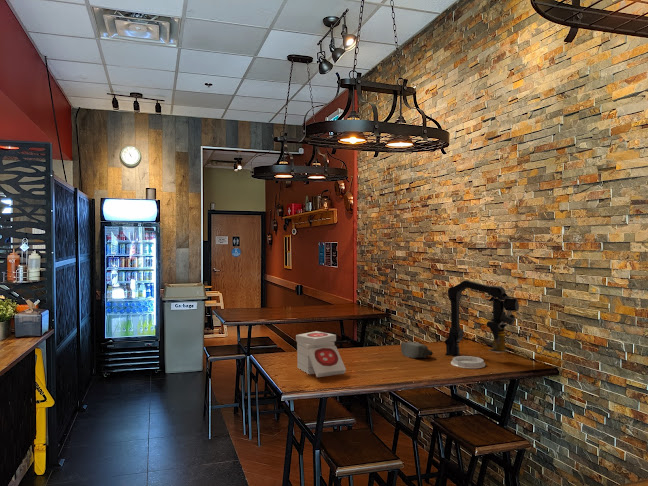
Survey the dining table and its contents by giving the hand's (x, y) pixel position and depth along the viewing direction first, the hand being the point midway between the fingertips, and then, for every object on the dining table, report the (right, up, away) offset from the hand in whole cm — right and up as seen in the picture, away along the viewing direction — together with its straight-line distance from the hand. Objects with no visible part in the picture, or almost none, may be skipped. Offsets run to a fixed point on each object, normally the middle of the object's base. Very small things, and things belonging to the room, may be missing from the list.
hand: (498, 338), depth 268 cm
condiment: (0, -7, -1) cm, 7 cm away
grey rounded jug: (-42, -14, +16) cm, 47 cm away
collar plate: (-18, -13, -4) cm, 23 cm away
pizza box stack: (-97, -14, -16) cm, 99 cm away
